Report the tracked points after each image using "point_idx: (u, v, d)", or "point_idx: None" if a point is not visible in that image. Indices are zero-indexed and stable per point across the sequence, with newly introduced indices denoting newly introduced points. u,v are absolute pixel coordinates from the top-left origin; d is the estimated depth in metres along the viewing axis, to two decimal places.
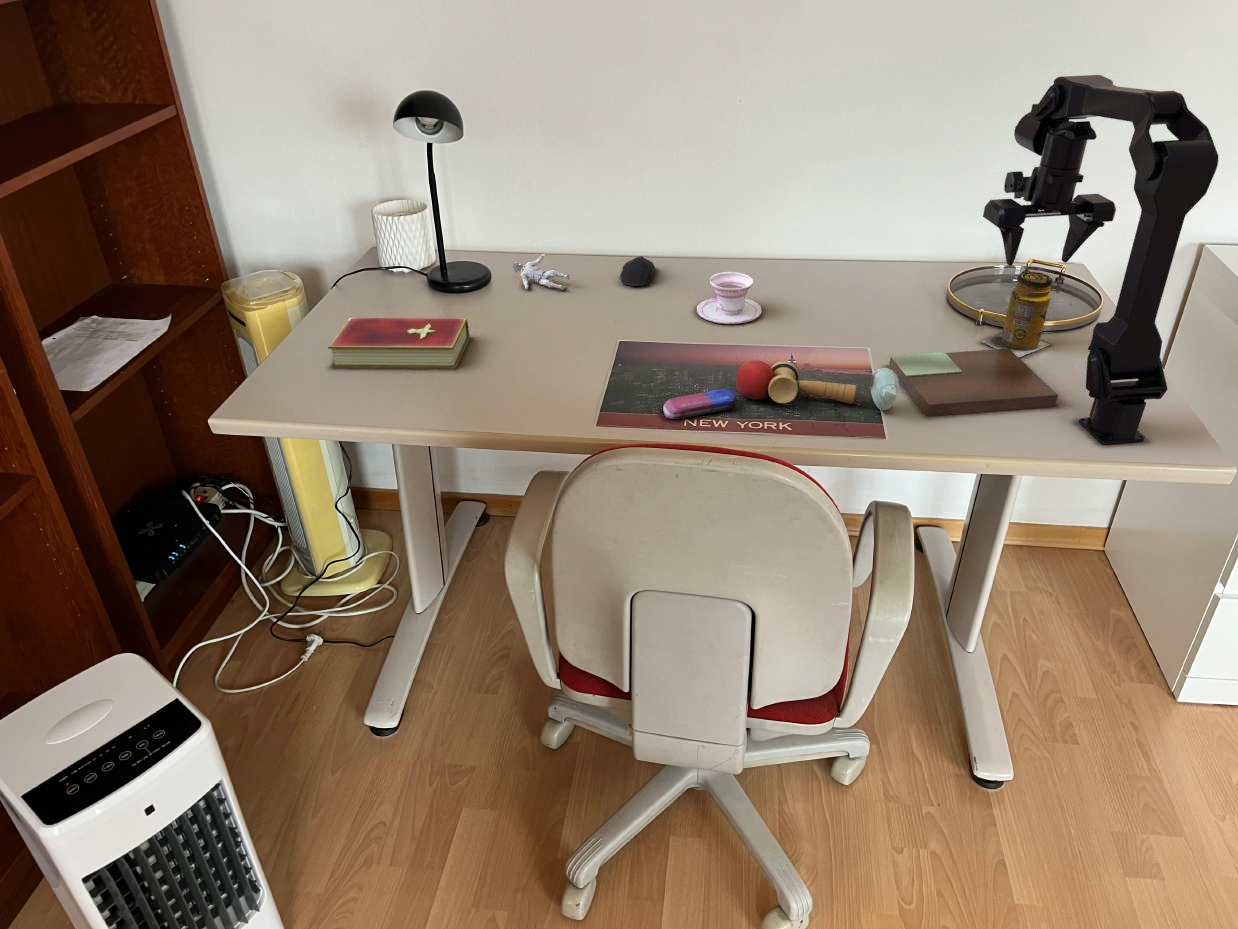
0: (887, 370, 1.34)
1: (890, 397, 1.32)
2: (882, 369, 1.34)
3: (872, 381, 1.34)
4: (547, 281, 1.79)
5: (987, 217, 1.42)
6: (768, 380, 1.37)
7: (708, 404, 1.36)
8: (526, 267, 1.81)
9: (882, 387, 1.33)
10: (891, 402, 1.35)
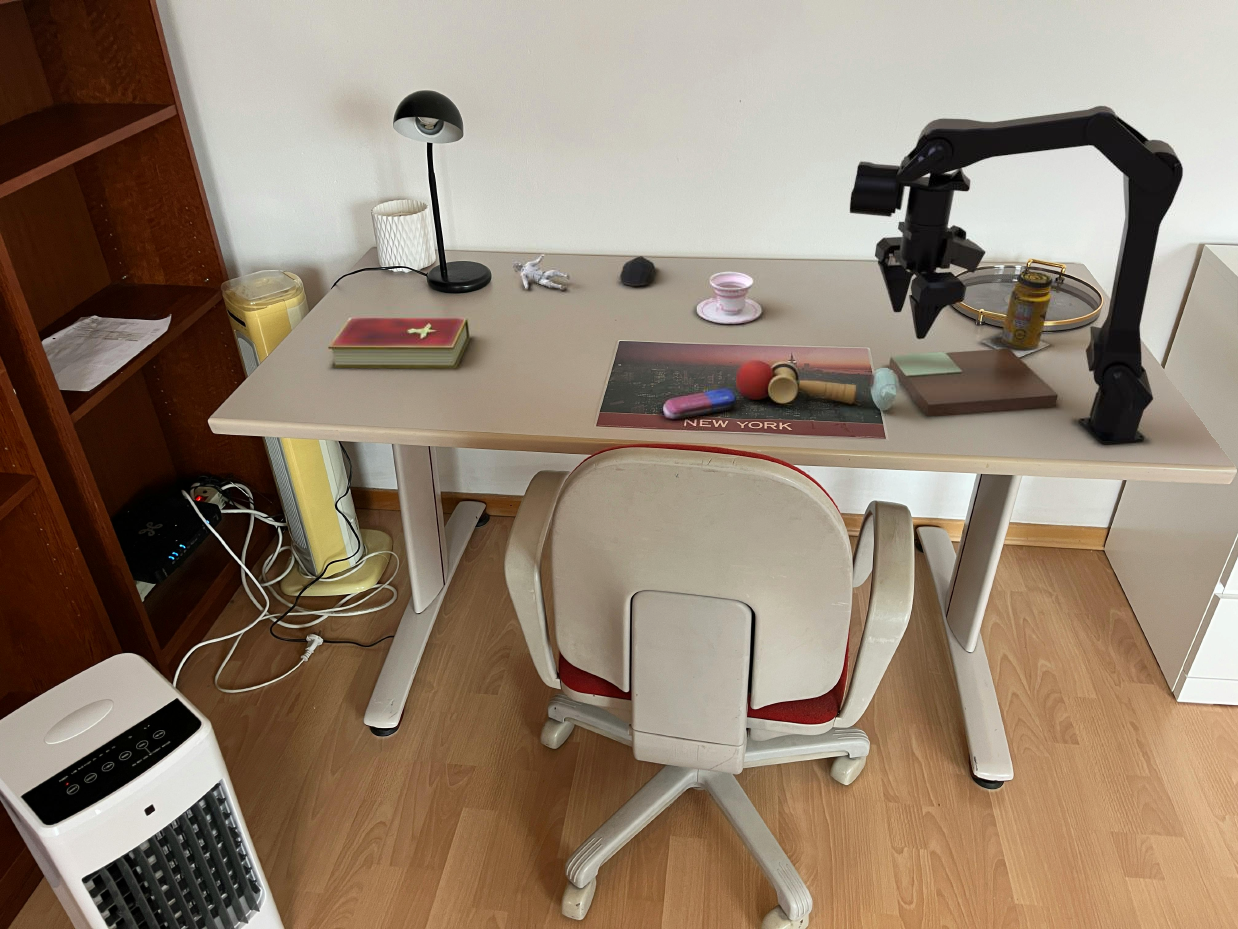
0: (887, 370, 1.34)
1: (890, 397, 1.32)
2: (882, 369, 1.34)
3: (872, 381, 1.34)
4: (547, 281, 1.79)
5: None
6: (768, 380, 1.37)
7: (708, 404, 1.36)
8: (526, 267, 1.81)
9: (882, 387, 1.33)
10: (891, 402, 1.35)
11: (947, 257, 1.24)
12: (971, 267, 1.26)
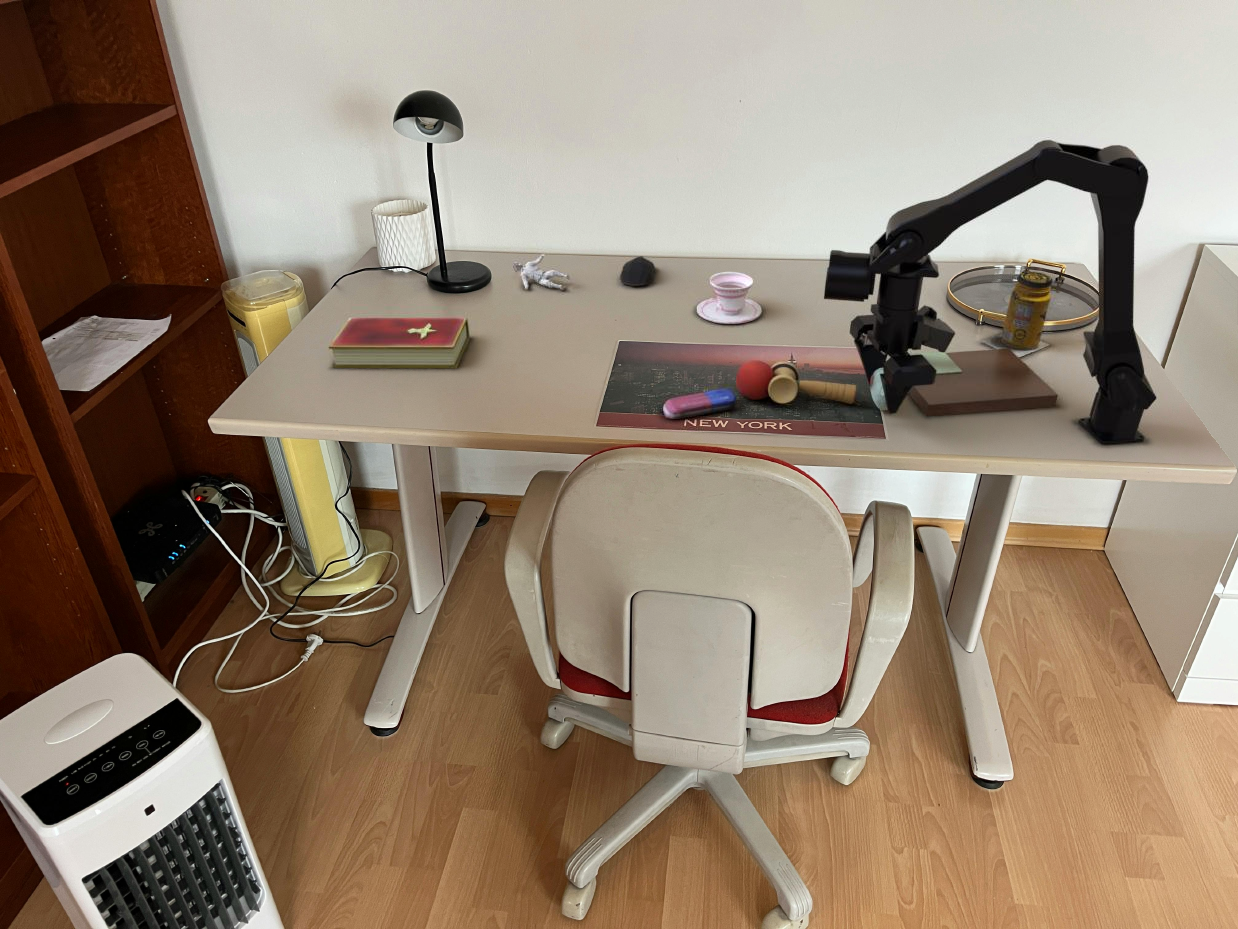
0: None
1: None
2: (882, 369, 1.34)
3: (872, 381, 1.34)
4: (547, 281, 1.79)
5: None
6: (768, 380, 1.37)
7: (708, 404, 1.36)
8: (526, 267, 1.81)
9: None
10: None
11: (918, 339, 1.28)
12: (942, 347, 1.30)
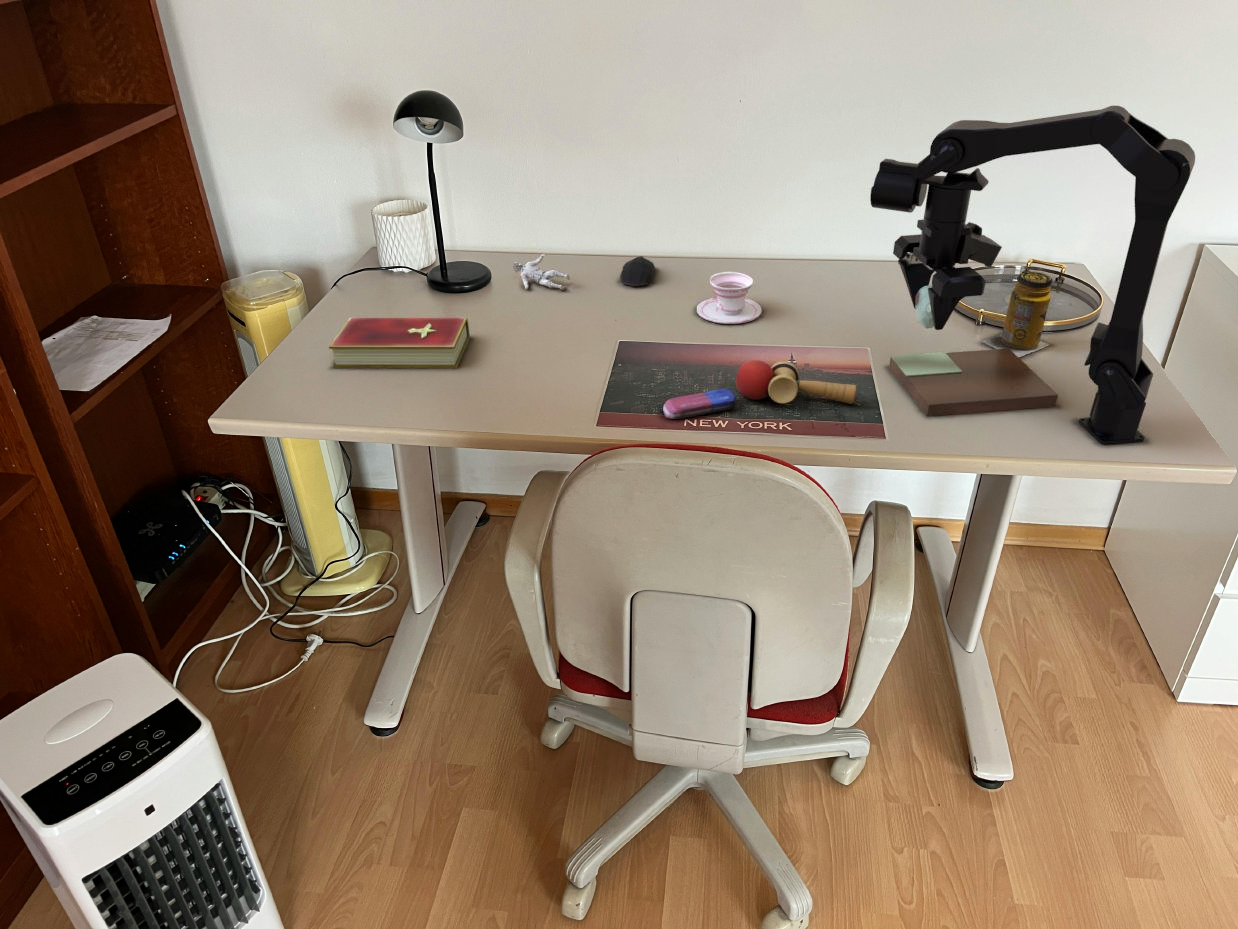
0: None
1: None
2: (927, 286, 1.35)
3: (917, 298, 1.35)
4: (547, 281, 1.79)
5: None
6: (768, 380, 1.37)
7: (708, 404, 1.36)
8: (526, 267, 1.81)
9: (928, 303, 1.34)
10: None
11: (965, 253, 1.29)
12: (988, 262, 1.31)
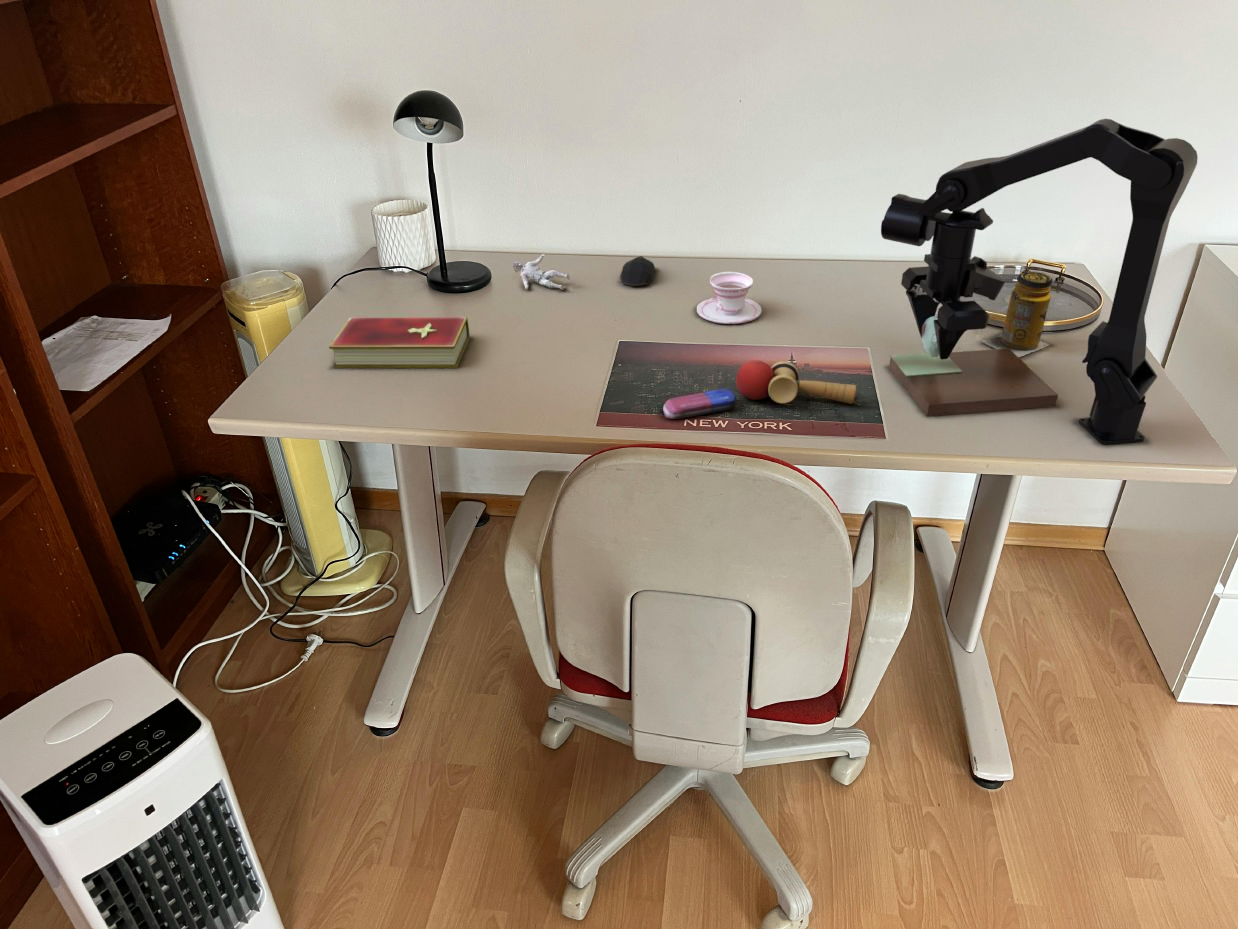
0: None
1: None
2: (933, 317, 1.41)
3: (924, 328, 1.41)
4: (547, 281, 1.79)
5: None
6: (768, 380, 1.37)
7: (708, 404, 1.36)
8: (526, 267, 1.81)
9: (934, 333, 1.39)
10: None
11: (970, 287, 1.35)
12: (992, 295, 1.36)
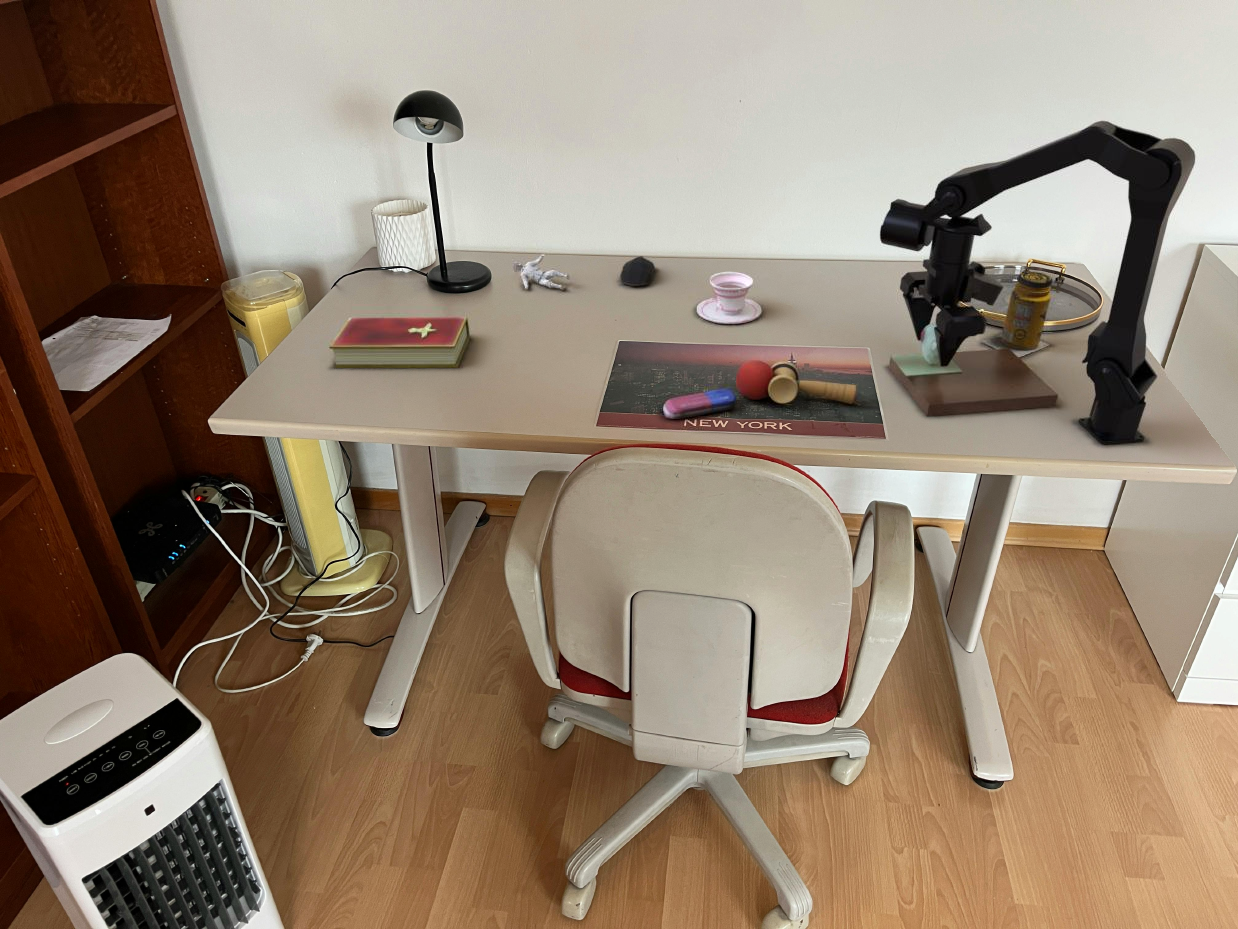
0: None
1: None
2: (932, 324, 1.41)
3: (923, 336, 1.42)
4: (547, 281, 1.79)
5: None
6: (768, 380, 1.37)
7: (708, 404, 1.36)
8: (526, 267, 1.81)
9: (933, 340, 1.40)
10: None
11: (968, 292, 1.35)
12: (990, 301, 1.37)
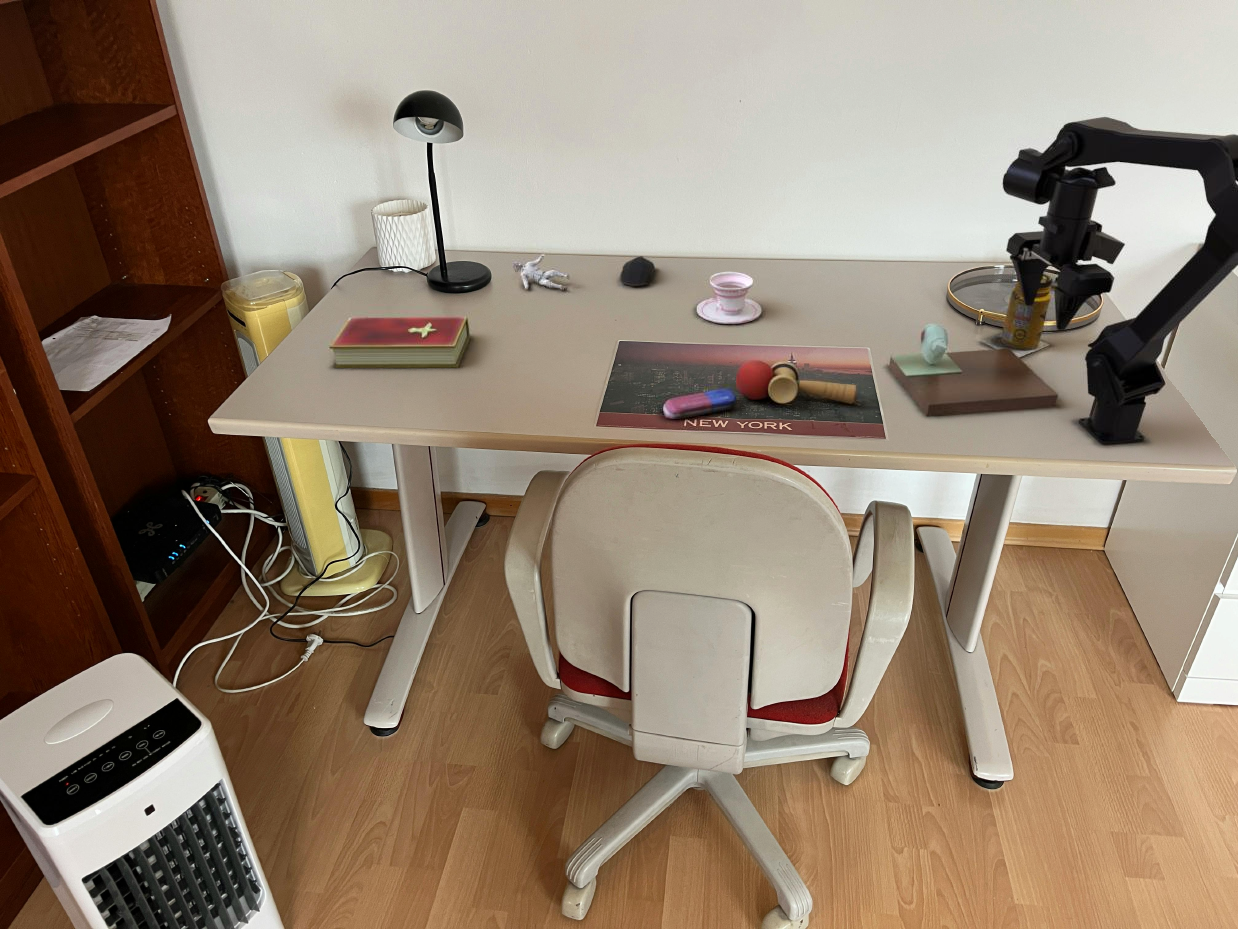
0: (937, 325, 1.41)
1: (940, 350, 1.40)
2: (932, 324, 1.41)
3: (923, 336, 1.42)
4: (547, 281, 1.79)
5: None
6: (768, 380, 1.37)
7: (708, 404, 1.36)
8: (526, 267, 1.81)
9: (933, 340, 1.40)
10: (940, 356, 1.42)
11: (1090, 249, 1.28)
12: (1111, 259, 1.29)
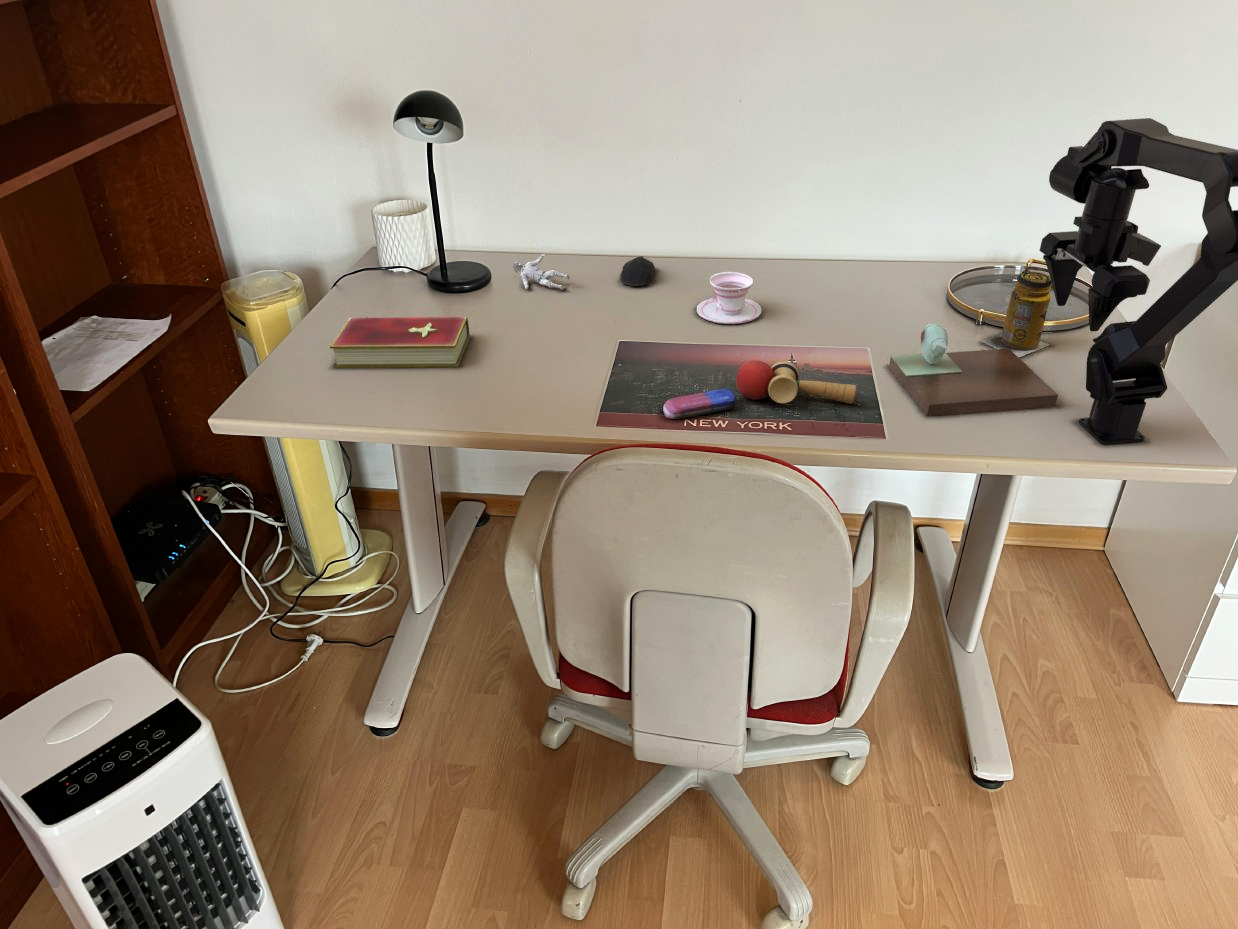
0: (937, 325, 1.41)
1: (940, 350, 1.40)
2: (932, 324, 1.41)
3: (923, 336, 1.42)
4: (547, 281, 1.79)
5: None
6: (768, 380, 1.37)
7: (708, 404, 1.36)
8: (526, 267, 1.81)
9: (933, 340, 1.40)
10: (940, 356, 1.42)
11: (1125, 251, 1.26)
12: (1146, 260, 1.28)
